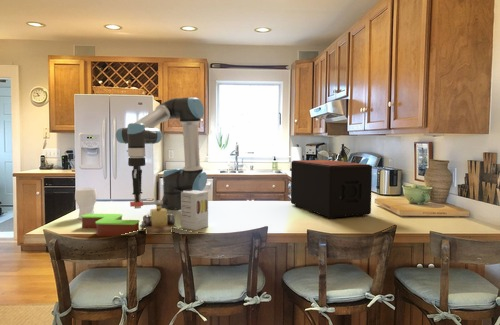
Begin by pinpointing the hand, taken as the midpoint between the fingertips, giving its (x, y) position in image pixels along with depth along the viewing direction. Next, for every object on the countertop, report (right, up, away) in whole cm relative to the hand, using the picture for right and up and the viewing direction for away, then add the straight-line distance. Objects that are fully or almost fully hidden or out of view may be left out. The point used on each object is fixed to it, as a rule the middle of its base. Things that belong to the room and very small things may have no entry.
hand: (137, 208), depth 168 cm
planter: (-12, -10, -3) cm, 16 cm away
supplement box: (+26, -10, +3) cm, 28 cm away
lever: (+4, +1, -1) cm, 5 cm away
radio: (+97, -7, +44) cm, 107 cm away
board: (+9, -9, +1) cm, 13 cm away
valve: (+9, -8, +1) cm, 13 cm away
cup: (-34, -8, +23) cm, 41 cm away
